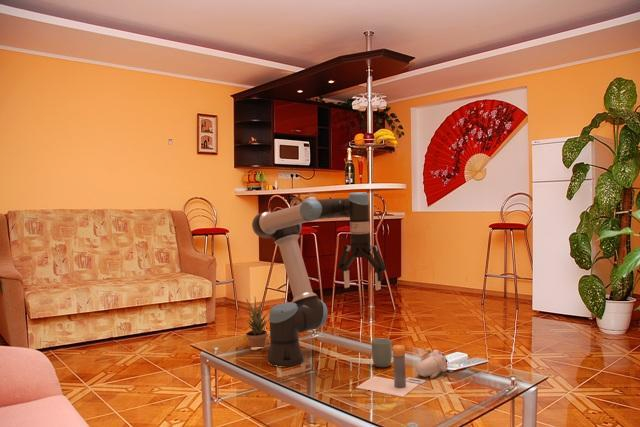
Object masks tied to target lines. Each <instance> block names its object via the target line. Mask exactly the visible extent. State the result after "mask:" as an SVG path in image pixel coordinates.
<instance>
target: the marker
mask: <svg viewBox="0 0 640 427" xmlns="http://www.w3.org/2000/svg"><path fill="white" fill-rule="evenodd" d="M405 347H406V346H405V345H404V344H392V360H393V380H394V386H395V387H396V388H404V387H406V378H407V376H406V348H405Z"/></svg>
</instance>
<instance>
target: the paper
mask: <svg viewBox="0 0 640 427" xmlns="http://www.w3.org/2000/svg"><path fill="white" fill-rule="evenodd" d="M419 385H420V384H417V383H412V382H406V387H404V388H396V387H395V386H394V378H393V379H391V378H387V377H382V376H381V377H380V376H375V375H373V376H372V377H370V378H368V379H367V380H365V381H364V382H362V383H361V384H359V385H357V386H356V387H355V389H358V390H362V391H368V390H370V391H369V392H374V393H379V394H385V395H389V396H394V397H399V398H404V397H406V396H407V395H409V393H411V392H412V391H414V390H415V389H416V388H417V387H419Z"/></svg>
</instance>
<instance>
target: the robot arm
mask: <svg viewBox="0 0 640 427" xmlns="http://www.w3.org/2000/svg"><path fill="white" fill-rule="evenodd" d="M335 218H336V219H337V218H349V229H350V230H349V231H350V233H351V234H350V235H349V236H350V238H349V239H350V244H351V245H349V244H347V245H346V244H345V245H343V251H342V255H341V257H340V259H339V263H338V264H337V269H338V270H341V274H342V275H341V276H342V277H341V278H342V279H343V281H344V282H343V283H344V285H343V287H344V289H348V288H350V286H351V285H350V282H351V281H350V270H349V267H350V266H351V265H352V263H353V262H354V260H355V259H356V258H365V259H366V260H367V261H368V262H369V264H370V265H371V267H373V269H374V270H375V271H376V272H375V273H374V284H375V291H379V290H381V289H382V288H381V287H382V286H381V283H382V282H383V272H384V271H387V270H388V268H387V266H386V264H385V262H384V260H383V257H382V256H381V253H380V250H379V245H374V246H371V233H370V232H371V225H370V223H371V222H370V200H369V194H368V193H367V192H361V191H360V192H350V193H348V197H344V198H343V197H342V198H341V197H340V198H339V197H335V198H322V199H321V198H320V199H318V198H317V199H314V198H312V199H311V198H310V199H306V200H303V201H302V203H299V204H297V205H296V204H295V205H293V206H290V207H285V208H282V209H279V210H275V211H262V212H260V213H257V214H256V215H255V216H254V218H253V219H252V223H251V227H252V231H253V233H254V234H256V236H258V237H260V238H262V239H273V243H274V244H275V245H277V246H278V247H279V251H280V254H281V258H282V261H283V265H284V268H285V272H286V276H287V278H288V282H289V286H290V289H291V292H292V294H291V295H292V297H293V299H292V301H290V302H282V303H278V304H276V305H273V306H272V307H271V308H270V309H269V317H268V321H269V335H270V336H269V338H270V345H269V348H268V352H267V356H266V362H267V361H268V362H269V363H270V364H272V365H277V366H290V367H294V365H295V366H298V365H301V364H302V363H304V361H305V356H304V353H303V351H302V347H301V345H300V340H299V334H300V333H301V334H302V333H305V332H307V331H312V330H316V329H319V328H321V327H323V326H324V325H325V324H326V322H327V320H328V307H327V305H326V303H325V302H324V301H323V300H321V299H319V297H318V295H317V294H316V293H315V292H313V289H312V286H311V281H310V279H309V274H308V272H307V269H306V265H305V262H304V261H305V260H304V258H303V254H302V251H301V248H300V244H299V239H300V237H301V236H300V233H301V232H302V227H303V225H302V224H304V223H308V222H312V221H316V220H317V221H318V220H323V219H335ZM350 251H351V254H350V255H349V253H350ZM372 253H373V254H372Z"/></svg>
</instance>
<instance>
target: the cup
mask: <svg viewBox="0 0 640 427" xmlns="http://www.w3.org/2000/svg"><path fill="white" fill-rule="evenodd" d="M392 346H393V344H392V339H389V338H383V337H382V338H381V337H378V338H374V339H371V357H372V362H373V365H374V366H375V367H378V368H387V367H389V366H390V365H391V363H392V360H393V347H392Z"/></svg>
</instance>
